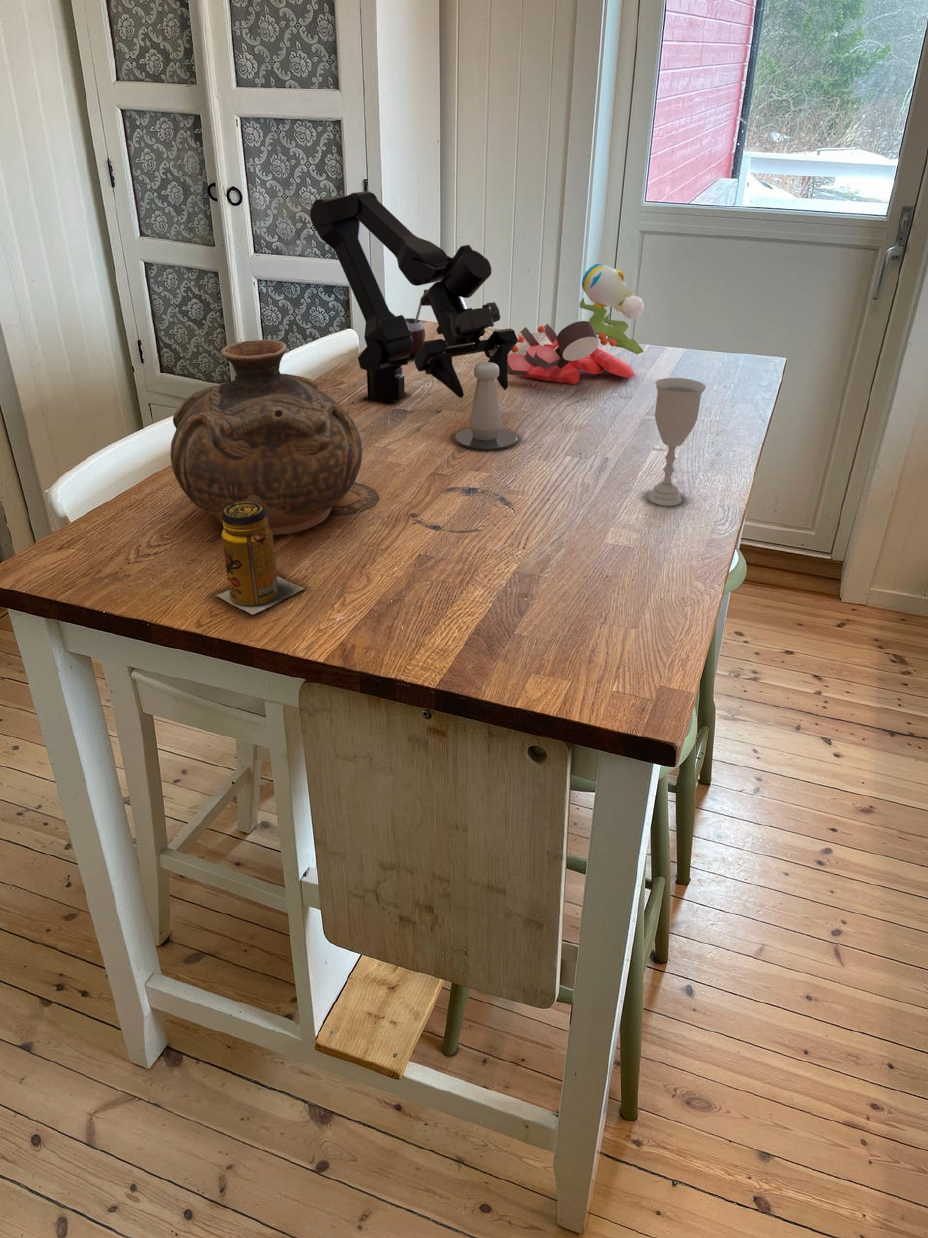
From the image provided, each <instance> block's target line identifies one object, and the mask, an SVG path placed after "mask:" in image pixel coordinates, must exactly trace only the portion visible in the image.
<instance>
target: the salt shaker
mask: <svg viewBox="0 0 928 1238" xmlns="http://www.w3.org/2000/svg"><path fill="white" fill-rule="evenodd" d="M473 376H474V378H476V383H475V387H474V394H473V400H472V404H471V409H470V415H469V419H468V425H469V428H471V431H472V434H473V436H474V437H475V438H476V439H478V440H486V441H487V440H492V439H495V438H496V436H497V434H498V432H499V430H500V429H501V428H502V427H503V421H502V415H501V410H500V409H501V408H500V403H499V397H498V390H497V383H496V380H497V378H498V376H499V367H498V365H497V364H495V363H492V362H488V361H481V362H478V363H476V364H475V366H474V369H473Z"/></svg>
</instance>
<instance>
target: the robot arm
mask: <svg viewBox="0 0 928 1238" xmlns="http://www.w3.org/2000/svg"><path fill="white" fill-rule="evenodd" d="M309 218H310V222H311V224H312V225H313V228H314V229H315V231H316V233H317V234H318V236H319V238H320V239H321V240H322V241H323V242H324V243H325V244H326V245H328V246H329V247H330V248H331V249H332V250H333V251H334V252H335V255H336V257H337V259H338V261H339V263H340V266H341V268H342V271H343V273H344V275H345V277H346V279H347V282H348V284H349V286H350V289H351V291H352V293H353V296H354V298H355V300H356V303H357V305H358V307H359V310H360V313H361V314H362V316H363V318H364V321H365V324H364V325H365V326H364V327H365V328H364V335H363V337H364V341H365V344H366V347H365V348H364V349H363V351H362V352H361V353H360V354H359V356H358V357H357V361H358V364H359V368H360V369H361V370H364V371H366V384H367V385H366V388H367V389H366V390H367V393H366V395H363V400H364V401H365V400H366V401H372V402H377V403H385V404H395V403H396V402H399V400H401V399H403V398H405V396H407V392H406V391H405V389H406V388H405V375H404V373H403V366H406V365H408V364H409V361H410V359H409V357H410V354H411V351H412V346H413V341H412V338H411V335H412V332H411V331H410V330H409V328H408V326H407V323H406V318H405V316H404V315H403V314H400V315H395V314H394V313H393V312H391V310H390V308H389V306H388V304H387V301H386V300H385V297H384V295H383V292H382V290H381V288H380V285H379V284H378V281H377V278H376V276H375V274H374V272H373V270H372V267H371V265H370V263H369V260H368V258H367V256H366V253H365V251H364V248H363V247H362V245H361V241H360V229H361V224H362V225H363V226H364V227H365V228H366V229H367V230H368V231H369V232H370V233H371V234H372V235H373V236H374V237H375V238H376V239H377V240H378V241H379V242H380V243H382V245H384V246H385V248H386V249H388V251H389V252H391V253H392V254H393V256H394V257H395V258H396V261H397V266H398V269H399V271H400V272H401V273H402V275H403V276H404V277H405V278H406V280H407V281H408V282H409V284H411V285H413V286H415V287H416V286H417V287H418V286H424V285H428V284H432V285H431V286H432V287H431V286H430V287H431V288H430V287H429V288H430V289H429V288H428V289H429V290H428V289H423V294H424V295H423V294H422V296H423V297H422V296H421V297H422V299H421V298H420V299H421V305H422V306H421V307H425V306H426V307H428V306H429V307H430V308H431V310H432V312H433V315H434V317H435V319H436V322H437V324H438V326H437V328H436V329H435V330H436V332H437V335H442V336H443V338H437V339H431V340H425V341H424V343H423V344H422V346H421V347H420V349H419V350H418V352H417V354H416V355H415V357H414V358H413V359H414V360H413V361H414V365H415V367H416V370H417V371H418V372H419V373H420V372H425V374H426V375H431V376H432V377H433V378H435V379H436V380H438V381H439V382H440V383H442V384H443V385H444V386H445V387H446V388H448V389H449V390H450V391H451V392H452V393H454V394H455V395H456V396H457V397H458V398H459V399H462V398H464V397H465V393H464V390H463V386H462V385H461V382H460V379H459V376H458V374H457V373H456V370H455V368H454V365H453V358H454V357H459V356H464V355H471V354H477V353H484V355H485V357H486V358H488V361H487V362H492V363H495V364H497V365H498V367H499V376H498V378H496V380H497V382H498V384H499V386H500V387H501V388H502V389H503V390H504V391H505V390H507V389H509V374H508V370H507V360H508V356H509V353H510V352H512V349H513V347H514V346H517V344H518V343H519V342H518V341H519V339H518V337H519V336H518V335H517V332H516V330H514V329H512V328H503V329H502V328H501V329H496V330H493V331H492V333H491V334H490V335H489V336H488V338H487V339H481V337H483V336H484V335H485V334H486V330H485V329H487V328H493V327H495V323H496V322H499V321H500V320H501V312H500V309H499V307H498V305H497V304H496V303H497V302H496V301H492V302H487V303H485V304H483V305H482V307H479V308H478V307H477V308H472V307H469V308H468V307H467V303H466V302H465V300H464V299H470V298H471V297H472V296H473V295H474V294H475V293H476V292H477V291H478V290H479V288H480V287H481V286H483V284H484V283H485V282H486V281H487V280H488V279H489V278H490V277H491V275H492V271H493V270H492V266H491V263H490V261H489V260H488V258H487V257H485V256H484V255H482V254H481V252H478V251H477V250H474V249H473V248H472V246H471V245H470V244H465V245H461V246H459V248H458V249H457V250H456V252H455V255H454V256H453V257H451V256H449V255H448V254H447V253H446V252H445V251H444V249H442V248H441V247H439V246H438V245H437V244H435V243H433V242H431V241H430V240H427V239H423V238H421V237H418V236H417V235H415V234H414V233H413V232H412V231H411V230H409V228H408V227H406V226H405V225H404V224H403V223H402V222H401V221H400V220H399V219H398V218H397V217H396V216H395V215H394V214H393V213H392V212H391V211H390V210H389V209H388V208H386V207H385V206H384V204H382V202H380V201H379V200H378V197H377V196H376V194H375V193H374V192H372V191H370V190H369V191H367V190H365V191H357V192H352V193H350V194H348V195H341V196H333V197H325V198H317V199H315V200H314V201H313V203H312V205H311V208H310V213H309Z"/></svg>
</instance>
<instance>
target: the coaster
mask: <svg viewBox="0 0 928 1238" xmlns="http://www.w3.org/2000/svg"><path fill="white" fill-rule="evenodd" d="M454 437H455V438H454V441H455V443H457V444H458V446H460V447H463V448H466V449H468V450H474V451H481V452H482V451H483V452H493V451H501V450H502V451H503V450H506V449H509V448H511V447H513V446H515V445H516V444H517V442H518V436H517V435H516V433H515V432H513V431H511V430H509V429H507V428H502V427H501V429H500V430H499V432H498V434H497V436H496V438H495V439H492V440H487V441H486V440H478V439H476V438H475V437H474V436H473V434H472V431H471V428H470V427H467V428H464V429H461V430H459V431H458V432H457V433H455V436H454Z"/></svg>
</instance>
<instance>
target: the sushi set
mask: <svg viewBox="0 0 928 1238" xmlns="http://www.w3.org/2000/svg"><path fill="white" fill-rule="evenodd" d="M584 272H585V273H584V275H583V277H582V281H581V288H582V290H583V292H584V293H585V295H586V296H587V298H588V299H589V300H590V301H591V302H593V304H587V303H586V302H585V297H583V298H582V299H581V300H580V302H579V308H580V309H583V310H587V311H591V312H593V314H592V315H591V316H590V318H589V319H588V320H578V321H575V322H572V323H569V324H568V325H566V326H565V327H564V328H562V329H561V330H560V331H559V332H558V334H557V333H556V331H554V329H553V328H552V327H551V326H550V324H549V323H546V324H545V325H539V326H538V327H537V332H538V333H539V334H543V333H544V335H545V336H546V338H547V339H548V341H549V342H550V343H546V344H545V343H544V344H543V345H542V344H540V343H539V341H538V340H537V339H536V337H535V336H534V335H533V333H532V332H530V330H529V329H528V328H527V327H526V326H525V327H523V328H522V329H521V330H520V331H519V333H520V334H521V335H518V336H517V337H518V339H519V341H518V342H517V343H518V344H519V343H520V344H522V343H523V342H526V343H527V345H528V346H529V347H528V349H527V350H526V352H525V354H522V353H517V352H519V347H518V345H515V346H514V347H513V349H512V350H511V352H512V353H510V354H508V360H507V370H508V376H521V377H526V378H531V379H535V380H539V381H546V382H554V383H561V384H562V383H563V384H570V385H576V384H577V383H578V382H579V381H580V374H581V371H583V372H585V373H587V374H590V375H591V374H594V375H599V374H602V373H604V371H605V370H606V371H607V372H608V373H610V374H613V375H616V376H620V377H624V378H631V377H634V376H635V373H634V370H633V368H632V366H630V365H629V364H628V363H627V362H625V361H623V360H622V359H620V358H618V357H616V356H615V355H614V354H611V353H609V352H608V351H605V350H604V349H602V348H600V347H599V345H600V344H601V345H602V346H607V345H609V346H611V347H612V348H613V347H616V348H622V349H625V350H627V351H629V352H631V353H633V354H635V355H639V354H642V353H644V352H645V351H644V349H643V348H642V346H640V345H639V343H638V342H637V341H636V340H635V339H632V338H628V336H627V335H626V334H625V332H626V331H627V330H628V329H629V325H628V323H627V322H626V321H624V320H614V319H610V318H609V317H610V313H608V314H607V312H608V310H607V309H606V307H610V308H613V309H614V310H616V311H617V312H620V313H622V315H623V316H624V317H625V318H627V319H629V320H635V319H637V318H639V317H641V316H642V314H643V313H644V311H645V304H644V301H643V299H642V298H641V297H639V296H637V295H634V292H633V291H631V290H630V289H628V288H627V285H626V283H625V277H624V276H625V275H624V273H623V271H621V270H620V269H616V268H614V267H612V266H609V265H607V264H603V263H595V264H593V265H592V266H590V267H589V268H588V269H587V270H584ZM606 314H607V315H606ZM597 335H598V336H597ZM599 340H600V341H599Z"/></svg>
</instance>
